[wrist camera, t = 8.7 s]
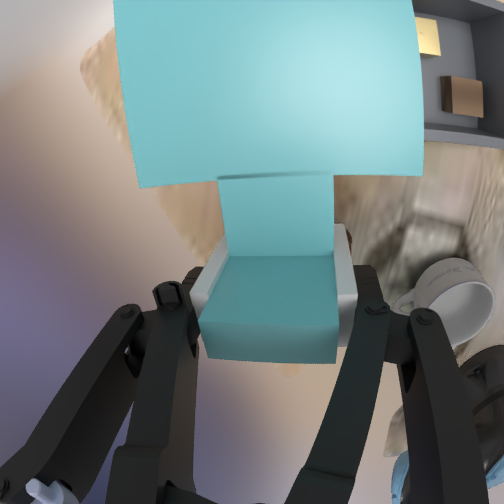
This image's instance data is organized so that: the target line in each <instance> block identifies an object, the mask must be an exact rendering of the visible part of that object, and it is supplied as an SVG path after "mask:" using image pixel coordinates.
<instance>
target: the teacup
mask: <svg viewBox="0 0 504 504" xmlns="http://www.w3.org/2000/svg"><path fill="white" fill-rule="evenodd" d="M410 302H413V304H414V309H416V308H421V307H422V308H429V309H432V310H434V311H435V312H436V313H438V315H439V316H440V318H441V320H442V323H443V325H444V328H445V330H446V333H447V336H448V338H449V341H450V344H451V347H453V346H457V345H460V344H462V343H464V342H466V341H468V340H470V339H471V338H473V337H474V336H475V335H477V334H478V333H479V332H480V331H481V330H482V329H483V328H484V326H485V325H486V324H487V322H488V321H489V319H490V318H491V316H492V314H493V311H494V307H495V295H494V292H493V290H492V289H491V287H490V286H489V285H488V284H487V282H486V281H485V279H484V278H483V276H482V275H481V274H480V272H479V271H478V270H477V269H476V268H475V266H473V265H472V264H471V263H470V262H468V261H467V260H464V259H461V258H447V259H443V260H440V261H438V262H436V263H434V264H433V265H431V266H430V267H429V268H428V269H426V270H425V271H424V273H423V274H422V275H421V276H420V278H419V279H418V281H417V283H416V286H415V288H414V289H411V290H410V291H409V293H407V294H405V295H403V296H401V297H400V298H398V299H397V300H396V301H395V303H394V304H393V308H392V311H393V312H395V313H398V314H403V315H408V316H409V315H410V313H404V312H402V311H401V310H400V308H401V307H402V306H404V305H405V304H407V303H410Z"/></svg>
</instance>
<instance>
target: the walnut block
mask: <svg viewBox="0 0 504 504" xmlns="http://www.w3.org/2000/svg"><path fill="white" fill-rule="evenodd" d="M440 81H441V100H442V111H444V112H449V113H455V114H462V115H469V116H475V117H482V118H483V88H482V81H477V80H472V79H467V78H462V77H456V76H440Z"/></svg>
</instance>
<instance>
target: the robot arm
mask: <svg viewBox="0 0 504 504" xmlns="http://www.w3.org/2000/svg"><path fill="white" fill-rule="evenodd" d="M333 256H334V266H335V278H336V290H337V301H338V312H339V334H338V345H337V347H340V346H341V347H343V346H347V349H346V353H345V356H344V359H343V363H342V366H341V369H340V372H339V375H338V378H337V381H336V384H335V388H334V391H333V393H332V396H331V399H330V402H329V405H328V408H327V410H326V413H325V416H324V419H323V421H322V424H321V426H320V429H319V432H318V434H317V437H316V439H315V442H314V445H313V447H312V450H311V452H310V454H309V457H308V459H307V461H306V463H305V465H304V466H303V468H301V470H300V472H299V474H298V476H297V478H296V480H295V482H294V484H293V486H292V489H291V491H290V493H289V495H288V497H287V499H286V501H285V503H284V504H348V501H349V499H350V496H351V493H352V490H353V487H354V483H355V477H356V473H357V470H358V467H359V464H360V460H361V457H362V454H363V450H364V446H365V443H366V439H367V435H368V431H369V427H370V424H371V420H372V415H373V411H374V407H375V402H376V398H377V393H378V388H379V383H380V378H381V373H382V367H383V362H384V361H385V362H390V363H394V364H397V369H398V375H399V381H400V387H401V394H402V401H403V408H404V416H405V425H406V434H407V444H408V451H405V452H403V453H402V454H401V455H400V456H399V457H398V459H397V460H396V462H395V465H394V469H393V473H392V483H391V493H392V503H393V504H489V499H488V490H487V489H490V488H491V487H494V486H497V485H498V484H501V483H502V482H504V345H501V346H495V347H491V348H488V349H486V350H484V351H482V352H480V353H478V354H477V355H475V356H473V357H472V358H471V359H469V360H468V361H467V362H466V363H465V364H463V365H462V366H461V367H460V368H459V367H458V364H457V361H456V358H455V355H454V352H453V349H452V347H451V344H450V341H449V338H448V336H447V333H446V330H445V328H444V325H443V323H442V320H441V318H440V316H439V315H438V313H436V312H435V311H434V310H432V309H429V308H422V307H421V308H416V309H414V310H413V311H412V312H411V313H410V315H409V316H408V315H403V314H398V313H395V312H393V311H391V309H390V306H389V305H388V304H387V303H386V302H384V299H383V295H382V292H381V288H380V284H379V281H378V278H377V274H376V271H375V270H374V269H373V268H372V267H371V266H370V265H352V259H351V254H350V249H349V244H348V239H347V235H346V230H345V225H344V224H334V252H333ZM228 258H229V251H228V247H227V241H226V235H225V233H224V234H223V236H222V238H221V239H220V241H219V243H218V245H217V246H216V248H215V250H214V251H213V253H212V255H211V256H210V258H209V260H208V262H207V263H206V265H205V267H195V268H194V269H192V270H191V271H189V272H188V274H187V275H186V277H185V279H184V280H183V282H182V284H180V283H179V282H176V281H168V282H163V283H162V284H159V285H158V286H156V287H155V288H154V289H153V291H152V292H153V295H154V298H155V301H156V304H157V309H156V310H152V311H146V312H142V311H141V309H140V307H139V306H138V305H136V304H127V305H124V306H122V307H120V308H119V309H118V310H116V311H115V313H114V314H113V315H112V317H111V318H110V320H109V321H108V322H107V323H106V325H105V326H104V327H103V329H102V330H101V331H100V333H99V334H98V335H97V337H96V338H95V340H94V341H93V343H92V344H91V345H90V347H89V348H88V349H87V351H86V352H85V354H84V355H83V356H82V358H81V359H80V361H79V362H78V363H77V365H76V366H75V368H74V369H73V371H72V372H71V374H70V375H69V377H68V378H67V379H66V381H65V383H64V384H63V385H62V387H61V388H60V390H59V392H58V393H57V394H56V396H55V397H54V399H53V401H52V402H51V404H50V405H49V407H48V408H47V410H46V412H45V413H44V415H43V416H42V418H41V419H40V421H39V422H38V424H37V426H36V427H35V429H34V431H33V432H32V434H31V436H30V437H29V439H28V441H27V442H26V444H25V446H23V447H22V448H21V449H20V450H19V451H18V452H17V453H16V454H14V455H13V456H12V457H11V458H10V459H9V460H8V461H7V462H6V463H5V464H4V465H3V466H1V467H0V503H1V504H80V503H81V502H82V500H83V499H84V498H85V497H86V495H87V494H88V492H89V491H90V489H91V487H92V485H93V484H94V482H95V480H96V477H97V476H98V473H99V471H100V469H101V467H102V465H103V463H104V460H105V459H106V456H107V454H108V452H109V450H110V448H111V446H112V444H113V442H114V440H115V438H116V436H117V433H118V432H119V429H120V427H121V425H122V423H123V421H124V419H125V417H126V415H127V413H128V411H129V409H130V407H131V405H132V403H133V401H134V403H133V408H132V413H131V418H130V423H129V428H128V433H127V438H126V442H125V444H124V445H123V446H118V447H117V448H116V450H115V452H114V455H113V460H112V466H111V471H110V477H109V483H108V489H107V495H106V501H105V504H217V503H215V502H213V501H210V500H208V499H206V498H204V497H202V496H200V495H198V494H196V488H195V485H194V481H193V452H194V451H193V450H194V426H195V407H196V389H197V373H198V358H199V344H198V341H197V339H198V336H199V334H200V333H201V331H200V327H199V324H198V319H199V317H200V315H201V313H202V311H203V309H204V307H205V305H206V303H207V301H208V299H209V297H210V295H211V293H212V291H213V289H214V287H215V285H216V283H217V281H218V279H219V277H220V275H221V272H222V270H223V268H224V266H225V264H226V262H227V260H228ZM201 337H202V334H201ZM202 340H203V338H202ZM203 342H204V341H203ZM126 348H128V351H127V352H126V353H124V352H125V350H126ZM256 504H263V503H256Z"/></svg>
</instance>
